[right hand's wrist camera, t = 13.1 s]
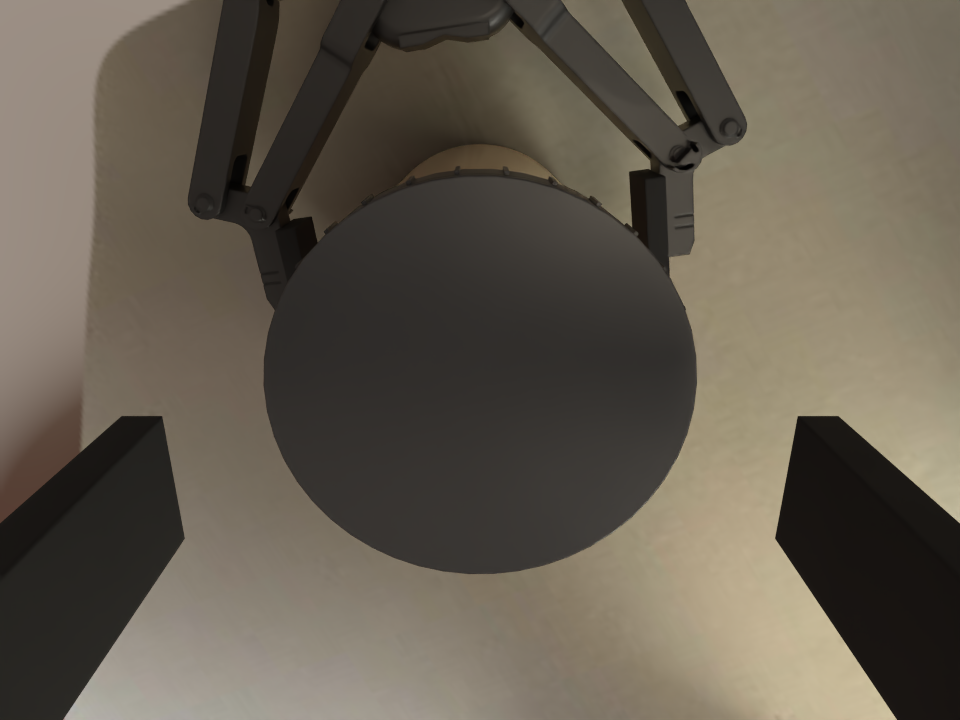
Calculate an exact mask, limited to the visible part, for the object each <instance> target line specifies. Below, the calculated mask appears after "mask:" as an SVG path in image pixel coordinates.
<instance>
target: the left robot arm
mask: <svg viewBox="0 0 960 720" xmlns="http://www.w3.org/2000/svg"><path fill="white" fill-rule="evenodd" d="M279 1H281V0H224V1H223V6H222V12H221V17H220V23H219V28H218V34H217V40H216V45H215V51H214V56H213V62H212V67H211V73H210V78H209V84H208V90H207V95H206V101H205V106H204V112H203V117H202V123H201V128H200V134H199V139H198V145H197V151H196V156H195V162H194V167H193V173H192V178H191V184H190V189H189V195H188V205H189V208H190V210H191V212H192V213H193V214H194V215H195V216H197V217H199V218H200V219H205V220H209V219H212V218H214V219H219V220H224V221H228V222H233V223H236V224H239V225H240V226H242V227H243V228H244V229H245V230H246V231H247V232H248V233H249V235H250V237H251V240H252V243H253V247H254V251H255V255H256V258H257V262H258V266H259V270H260V273H261V278H262V282H263V284H264V289H265V293H266V297H267V300H268V301H269V302H270V304H271V305H272V307H273V308H274V309H276V304H277V303H278V302H279V300H280V298H281V296H282V294H283V292H284V289H285V287H286V285H287V283H288V281H289V280H290V278H291V277H292V275H293V274H294V272H295V271H296V268H295V266H296V265H297V263H299V262H300V261H301V260H302V259H303V258H304V257H305V256H306V255H307V254H308V253H309V252H310V251H311V250H312V249H313V248H314V246H315V245H316V244H317V243H318V242H317V238H316V233H315V229H314V225H313V220H312V217H305V218H298V219H293V220H291V221H290V218H289V215H290V214H291V212H292V211H293V210H292V209H291V207H292V206H293V204H294V202H295V200H296V198H297V196H298V194H299V192H300V190H301V189H302V187H303V185H304V183H305V181H306V179H307V177H308V175H309V173H310V171H311V170H312V168H313V166H314V164H315V162H316V160H317V158H318V156H319V154H320V153H321V151H322V149H323V147H324V145H325V143H326V141H327V139H328V137H329V135H330V134H331V132H332V130H333V128H334V126H335V124H336V122H337V120H338V118H339V117H340V115H341V113H342V111H343V109H344V107H345V105H346V103H347V101H348V99H349V98H350V96H351V94H352V92H353V90H354V88H355V86H356V84H357V82H358V81H359V79H360V77H361V75H362V73H363V72H364V71H365V69H366V68H367V67H368V65H369V64H370V62H371V60H372V59H373V57H374V55H375V53H376V51H377V49H378V47H379V45H380V43H381V42H384V43H385V44H387V45H389V46H391V47H393V48H396V49H400V50H403V51H405V52H410V51H416V50H423V49H427V48H429V47H431V46H434V45H436V44H438V43H440V42H442V41H444V40H454V41H461V42H468V43H469V42H475V41H482V40H488V39H489V37H491V36H493V35H495V34H496V33H498V32H499V31H500V30H501V29H502V28H503V27H504V26H505V25H506V24H507V23H508V21H509V20H510V21H511V22H512V23H513V24H514V25H515V26H516V27H517V28H518V29H519V30H520V31H521V32H522V33H523V34H524V35H525V36H526V37H527V38H528V39H529V40H530V41H531V42H532V43H533V44H535V45H536V46H537V47H538V48H539V49H541V50H542V51H543V53H544V54H545V55H546V56H547V57H548V58H549V59H550V60H551V61H552V62H553V63H554V64H555V65H556V66H557V67H558V68H559V69H560V70H561V71H562V72H563V73H564V74H565V75H566V76H567V77H568V78H569V79H570V80H571V81H572V82H573V83H574V84H575V85H576V86H577V87H578V88H579V89H580V90H581V91H582V92H583V93H584V94H585V95H586V96H587V97H588V98H589V99H590V100H591V101H592V102H593V103H594V104H595V105H596V106H597V107H598V108H599V109H600V110H601V111H602V112H603V113H604V114H605V115H606V116H607V117H608V118H609V119H610V120H611V121H612V122H613V123H614V124H615V125H616V126H617V127H618V128H619V129H620V130H621V131H622V132H623V134H624V135H625V136H626V137H627V138H628V139H629V140H630V141H631V142H632V143H633V144H634V145H635V146H636V147H637V148H638V149H639V150H640V151H641V152H642V153H643V154H644V155H645V156H646V157H647V158H648V159H649V160H650V163H651V170H649V169H645V170H638V171H631V172H629V177H630V194H631V211H632V228H633V229H634V230H636V231H637V232H638V233H639V234H638V235H637V237H638V238H639V240H640V241H641V242H642V243H643V244H644V245H645V246H646V247H647V248H648V249H649V250H650V251H651V252H652V254H653V255H654V256H655V257H656V259H657V260H658V261H660V262H661V263H662V264H663V265H664V266H665V267H666V269H667V270H666V271H665V272H666V273H667V274H668V276H669V277H670V275H669V257H672V256H680V255H687V254H690V251H691V249H692V246H693V243H694V215H693V213H694V204H693V173H694V170H695V169H696V168H697V167H698V166H699V164H700V163H701V160H702V158H704V157H705V156H707V155H708V154H710V153H712V152H714V151H716V150H718V149H720V148H722V147H724V146H726V145H733V144H736V143H738V142H739V141H740V140H741V139H742V138H743V136H744V134H745V132H746V128H747V122H746V119H745V116H744V114H743V112H742V110H741V108H740V107H739V105H738V103H737V101H736V99H735V97H734V95H733V93H732V91H731V89H730V87H729V85H728V83H727V81H726V79H725V77H724V75H723V73H722V71H721V70H720V68H719V66H718V64H717V62H716V60H715V58H714V56H713V54H712V52H711V50H710V48H709V46H708V44H707V42H706V40H705V38H704V36H703V34H702V32H701V31H700V29H699V27H698V25H697V23H696V21H695V19H694V17H693V15H692V13H691V11H690V9H689V7H688V5H687V3H686V1H685V0H622V2H623V4H624V6H625V8H626V9H627V11H628V13H629V15H630V17H631V19H632V20H633V22H634V24H635V26H636V28H637V30H638V31H639V33H640V35H641V37H642V39H643V41H644V43H645V44H646V46H647V48H648V50H649V52H650V54H651V55H652V57H653V59H654V61H655V63H656V65H657V66H658V68H659V70H660V72H661V74H662V76H663V78H664V79H665V81H666V83H667V85H668V87H669V89H670V90H671V92H672V94H673V96H674V98H675V100H676V101H677V103H678V105H679V107H680V109H681V111H682V113H683V114H684V116H685V118H686V120H687V122H685V123H683V124H681V125H680V126H677V125H676V124H675V123H674V122H673V121H672V120H671V119H670V118H669V117H668V115H667V114H666V113H665V112H664V111H663V110H662V109H661V108H660V107H659V106H658V105H657V104H656V103H655V102H654V101H653V100H652V99H651V98H650V97H649V96H648V95H647V94H646V92H645V91H644V90H643V89H642V88H641V87H640V86H639V85H638V84H637V83H636V82H635V81H634V80H633V79H632V78H631V77H630V76H629V75H628V74H627V73H626V72H625V71H624V70H623V68H622V67H621V66H620V65H619V64H618V63H617V62H616V61H615V60H614V59H613V58H612V57H611V56H610V55H609V54H608V53H607V52H606V51H605V50H604V49H603V48H602V47H601V45H600V44H599V43H598V42H597V41H596V40H595V39H594V38H593V37H592V36H591V35H590V34H589V33H588V32H587V31H586V30H585V29H584V28H583V27H582V26H581V25H580V24H579V22H578V21H577V20H576V19H575V18H574V17H573V16H572V15H571V14H570V13H569V12H568V10H567V9H566V7H565V5H564V4H563V3H562V1H561V0H341V1H340V3H339V5H338V7H337V9H336V11H335V13H334V15H333V17H332V19H331V21H330V23H329V25H328V27H327V29H326V31H325V33H324V35H323V37H322V40H321V45H320V50H319V52H318V55H317V57H316V59H315V61H314V63H313V65H312V67H311V69H310V71H309V73H308V75H307V77H306V78H305V80H304V82H303V84H302V86H301V88H300V90H299V92H298V94H297V96H296V98H295V100H294V102H293V104H292V106H291V108H290V110H289V112H288V114H287V116H286V118H285V120H284V122H283V124H282V126H281V128H280V130H279V132H278V134H277V136H276V138H275V140H274V142H273V144H272V146H271V148H270V150H269V152H268V154H267V156H266V158H265V160H264V162H263V164H262V166H261V168H260V170H259V172H258V174H257V176H256V178H255V180H254V182H253V184H252V186H251V187H250V186H245V183H246V178H247V174H248V169H249V164H250V159H251V154H252V150H253V145H254V140H255V135H256V130H257V126H258V121H259V116H260V111H261V106H262V102H263V97H264V92H265V87H266V82H267V78H268V73H269V68H270V63H271V58H272V54H273V49H274V44H275V39H276V34H277V28H278V22H279Z"/></svg>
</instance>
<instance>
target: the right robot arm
mask: <svg viewBox="0 0 960 720" xmlns="http://www.w3.org/2000/svg"><path fill="white" fill-rule="evenodd" d="M184 539H185V537H184V532H183V526H182V521H181V516H180V510H179V505H178V499H177V494H176V489H175V483H174V478H173V472H172V467H171V462H170V456H169V451H168V445H167V440H166V435H165V429H164V424H163V418H162V416H121V417H120V418H119V419H118V420H117V421H116V422H115V423H113V424H112V425H111V426H110V427H109V428H108V429H107V430H105V431H104V432H103V433H102V434H101V435H100V436H99V437H98V438H96V439H95V440H94V441H93V442H92V443H91V444H90V445H89V446H87V447H86V448H85V449H84V450H83V451H82V452H81V453H79V454H78V455H77V456H76V457H75V458H74V459H73V460H72V461H70V462H69V463H68V464H67V465H66V466H65V467H64V468H62V469H61V470H60V471H59V472H58V473H57V474H56V475H55V476H53V477H52V478H51V479H50V480H49V481H48V482H47V483H46V484H45V485H43V486H42V487H41V488H40V489H39V490H38V491H36V492H35V493H34V494H33V495H32V496H31V497H30V498H29V499H27V500H26V501H25V502H24V503H23V504H22V505H21V506H19V507H18V508H17V509H16V510H15V511H14V512H13V513H12V514H10V515H9V516H8V517H7V518H6V519H5V520H4V521H2V522H1V523H0V720H63V719H64V717H65V716H66V714H67V713H68V711H69V710H70V708H71V707H72V705H73V704H74V702H75V701H76V699H77V698H78V696H79V695H80V694H81V692H82V691H83V689H84V688H85V686H86V685H87V683H88V682H89V680H90V679H91V677H92V676H93V674H94V673H95V671H96V670H97V668H98V667H99V665H100V664H101V662H102V661H103V659H104V658H105V656H106V655H107V653H108V652H109V650H110V649H111V647H112V646H113V644H114V643H115V641H116V640H117V639H118V637H119V636H120V634H121V633H122V631H123V630H124V628H125V627H126V625H127V624H128V622H129V621H130V619H131V618H132V616H133V615H134V613H135V612H136V610H137V609H138V607H139V606H140V604H141V603H142V601H143V600H144V598H145V597H146V595H147V594H148V592H149V591H150V589H151V588H152V586H153V585H154V584H155V582H156V581H157V579H158V578H159V576H160V575H161V573H162V572H163V570H164V569H165V567H166V566H167V564H168V563H169V561H170V560H171V558H172V557H173V555H174V554H175V552H176V551H177V549H178V548H179V546H180V545H181V543H182V542H183V540H184ZM775 539H776V540H777V542H778V543H779V545H780V546H781V548H782V549H783V551H784V552H785V554H786V555H787V557H788V558H789V560H790V561H791V563H792V564H793V566H794V567H795V569H796V570H797V572H798V573H799V575H800V576H801V578H802V579H803V581H804V582H805V584H806V585H807V586H808V588H809V589H810V591H811V592H812V594H813V595H814V597H815V598H816V600H817V601H818V603H819V604H820V606H821V607H822V609H823V610H824V612H825V613H826V615H827V616H828V618H829V619H830V621H831V622H832V624H833V625H834V627H835V628H836V630H837V631H838V633H839V634H840V636H841V637H842V639H843V640H844V641H845V643H846V644H847V646H848V647H849V649H850V650H851V652H852V653H853V655H854V656H855V658H856V659H857V661H858V662H859V664H860V665H861V667H862V668H863V670H864V671H865V673H866V674H867V676H868V677H869V679H870V680H871V682H872V683H873V685H874V686H875V688H876V689H877V691H878V692H879V694H880V695H881V696H882V698H883V699H884V701H885V702H886V704H887V705H888V707H889V708H890V710H891V711H892V713H893V714H894V716H895V717H896V719H897V720H960V523H959V522H958V521H956V520H955V519H954V518H953V517H952V516H951V515H950V514H948V513H947V512H946V511H945V510H944V509H943V508H942V507H941V506H939V505H938V504H937V503H936V502H935V501H934V500H933V499H931V498H930V497H929V496H928V495H927V494H926V493H925V492H924V491H922V490H921V489H920V488H919V487H918V486H917V485H916V484H914V483H913V482H912V481H911V480H910V479H909V478H908V477H907V476H905V475H904V474H903V473H902V472H901V471H900V470H899V469H898V468H896V467H895V466H894V465H893V464H892V463H891V462H890V461H888V460H887V459H886V458H885V457H884V456H883V455H882V454H881V453H879V452H878V451H877V450H876V449H875V448H874V447H873V446H871V445H870V444H869V443H868V442H867V441H866V440H865V439H864V438H862V437H861V436H860V435H859V434H858V433H857V432H856V431H855V430H853V429H852V428H851V427H850V426H849V425H848V424H847V423H845V422H844V421H843V420H842V419H841V418H840V417H839V416H798V418H797V424H796V429H795V435H794V440H793V445H792V451H791V456H790V462H789V467H788V472H787V478H786V483H785V489H784V494H783V499H782V505H781V510H780V516H779V521H778V526H777V532H776V537H775Z"/></svg>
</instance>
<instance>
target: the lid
mask: <svg viewBox="0 0 960 720" xmlns="http://www.w3.org/2000/svg"><path fill="white" fill-rule="evenodd" d="M361 203H362V205H361V206H359V207H358V208H356V209H355V210H354V211H353V212H352V213H350V214H349V215H348V216H347V217H346V218H344V219H343V220H342V221H341V222H340V223H337V222H336V221H335V222H334V223H333V224H332V225H331V226H329V227H328V228H327V229H326V230H325V231H324V233H325V234H326V235H325V236H324V237H323V238H322V239H321V240H320V241H319V242H318V243H317V244H316V245H315V246H314V248H313V249H312V250H311V251H310V252H309V253H308V254H307V255H306V256H305V257H304V258H303V259H302V260H301V261H300V262H299V263H297V265H296V266H295V268H296V271H295V272H294V274H293V275H292V277H291V278H290V280H289V281H288V283H287V285H286V287H285V289H284V292H283V294H282V296H281V298H280V300H279V302H278V303H277V304H276V309H275V312H274V315H273V319H272V322H271V325H270V328H269V332H268V337H267V343H266V350H265V356H264V391H265V399H266V407H267V413H268V416H269V420H270V424H271V427H272V431H273V434H274V437H275V440H276V442H277V444H278V447H279V449H280V451H281V454H282V456H283V458H284V460H285V462H286V464H287V465H288V467H289V469H290V470H291V472H292V474H293V475H294V477H295V479H296V481H297V482H298V483H299V485H300V486H301V487H302V488H303V490H304V491H305V492H306V493H307V495H308V496H309V497H310V499H311V500H312V501H313V502H314V503H315V504H316V505H317V506H318V507H319V508H320V509H321V510H322V511H323V512H324V513H325V514H326V515H327V516H328V517H329V518H330V519H331V520H332V521H334V522H335V523H336V524H338V525H339V526H340V527H341V528H343V529H344V530H345V531H347V532H348V533H349V534H350V535H352V536H354V537H355V538H357V539H359V540H360V541H362V542H364V543H365V544H367V545H369V546H370V547H372V548H374V549H376V550H378V551H380V552H383V553H385V554H387V555H389V556H391V557H394V558H396V559H399V560H402V561H405V562H408V563H411V564H414V565H417V566H421V567H426V568H430V569H435V570H440V571H445V572H455V573H464V574H497V573H506V572H515V571H521V570H526V569H530V568H535V567H539V566H544V565H547V564H549V563H552V562H555V561H558V560H561V559H564V558H567V557H569V556H571V555H573V554H576V553H578V552H580V551H582V550H584V549H586V548H588V547H590V546H592V545H594V544H595V543H597V542H598V541H600V540H602V539H603V538H605V537H607V536H608V535H610V534H611V533H613V532H614V531H615V530H617V529H618V528H619V527H620V526H622V525H623V524H624V523H625V522H627V521H628V520H629V519H630V518H632V517H633V516H634V515H635V514H636V513H637V511H638V510H639V509H640V508H641V507H642V506H643V505H644V504H645V503H646V502H647V501H648V500H649V499H650V498H651V497H652V495H653V494H654V493H655V491H656V490H657V489H658V488H659V486H660V485H661V484H662V482H663V481H664V480H665V478H666V476H667V475H668V473H669V471H670V469H671V468H672V466H673V464H674V462H675V461H676V459H677V457H678V455H679V452H680V450H681V448H682V445H683V443H684V440H685V438H686V436H687V433H688V429H689V425H690V421H691V417H692V414H693V410H694V403H695V394H696V386H697V370H696V353H695V347H694V341H693V335H692V330H691V327H690V324H689V320H688V317H687V314H686V311H685V310H686V309H685V306H684V305H683V303H682V301H681V299H680V297H679V295H678V293H677V291H676V289H675V287H674V285H673V283H672V281H671V279H670V277H669V276H668V274H667V273H666V272H665V271H666V270H667V269H666V267H665V266H664V265H663V264H662V263H661V262H660V261H658V260H657V259H656V257H655V256H654V255H653V254H652V252H651V251H650V250H649V249H648V248H647V247H646V246H645V245H644V244H643V243H642V242H641V241H640V240H639V238H638V237H637V235H638V234H639V233H638V232H637V231H636V230H634V229H633V228H632V227H631V226H630V225H628V224H627V223H626V224H625V225H623V224H622V223H621V222H620V221H619V220H617V219H616V218H615V217H614V216H612V215H611V214H610V213H609V212H607V211H606V210H605V209H604V208H602V207H601V205H602V204H601V203H600V202H599V201H598V200H597V199H595V198H594V197H593V196H590V198H589V199H588V198H587V197H585V196H583V195H582V194H580V193H578V192H577V191H575V190H572V189H570V188H567V187H565V186H563V185H560V184H558V182H557V181H556V180H555V179H554V178H553V177H550V176H549V178H548V179H544V178H541V177H537V176H533V175H530V174H526V173H522V172H515V171H509V169H508V167H506V166H503V170H499V169H461V167H460V166H456V168H455V170H453V171H446V172H439V173H434V174H430V175H427V176H423V177H420V178H416V179H415V176H410V178H409V179H408V180H407V181H406V182H404V183H402V184H400V185H398V186H395V187H393V188H391V189H389V190H386V191H384V192H382V193H380V194H379V195H377V196H375V197H374V196H373V195H372V194H371V195H370V196H368V197H367V198H366V199H365V200H364V201H362V202H361Z"/></svg>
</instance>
